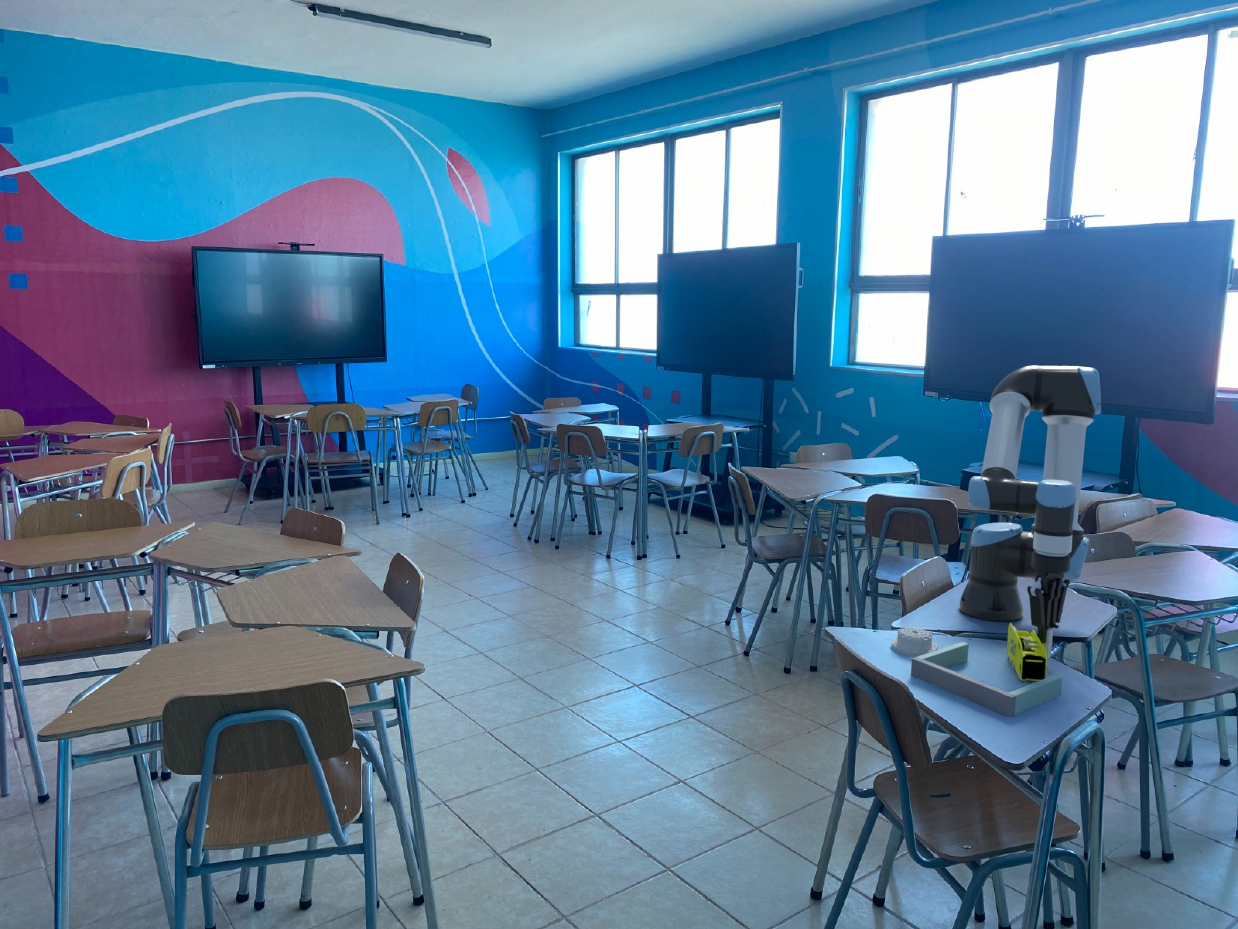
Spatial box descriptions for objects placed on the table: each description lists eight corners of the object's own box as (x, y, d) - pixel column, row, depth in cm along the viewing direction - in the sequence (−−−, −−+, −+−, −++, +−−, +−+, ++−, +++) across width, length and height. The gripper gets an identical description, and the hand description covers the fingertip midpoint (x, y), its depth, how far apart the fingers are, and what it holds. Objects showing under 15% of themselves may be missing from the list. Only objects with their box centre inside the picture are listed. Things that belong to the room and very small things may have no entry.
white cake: (942, 659, 195) (930, 643, 205) (943, 640, 194) (931, 625, 204) (896, 657, 196) (887, 641, 206) (897, 639, 195) (888, 623, 205)
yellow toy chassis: (1004, 655, 196) (1006, 620, 195) (1032, 657, 195) (1033, 621, 194) (1017, 683, 181) (1019, 645, 180) (1047, 686, 180) (1049, 647, 178)
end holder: (961, 658, 194) (962, 641, 194) (1060, 695, 176) (1062, 677, 175) (910, 676, 185) (911, 658, 184) (1010, 717, 166) (1011, 697, 165)
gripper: (1051, 544, 194) (1043, 644, 198) (1018, 552, 187) (1010, 656, 191) (1084, 551, 188) (1075, 654, 191) (1051, 560, 181) (1043, 667, 184)
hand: (1043, 655), depth 191 cm, fingers closed
